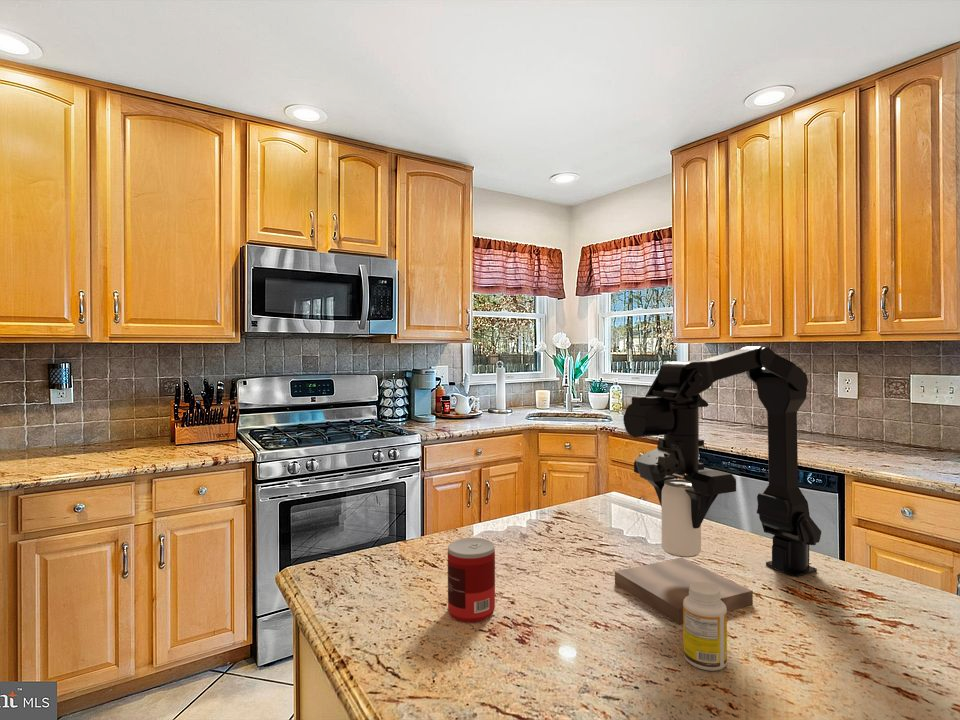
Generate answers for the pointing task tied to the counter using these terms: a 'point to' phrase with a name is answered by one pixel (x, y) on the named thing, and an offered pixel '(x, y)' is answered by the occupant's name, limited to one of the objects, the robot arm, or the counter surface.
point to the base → (677, 586)
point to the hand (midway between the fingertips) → (681, 522)
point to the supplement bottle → (705, 627)
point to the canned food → (471, 579)
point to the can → (678, 520)
